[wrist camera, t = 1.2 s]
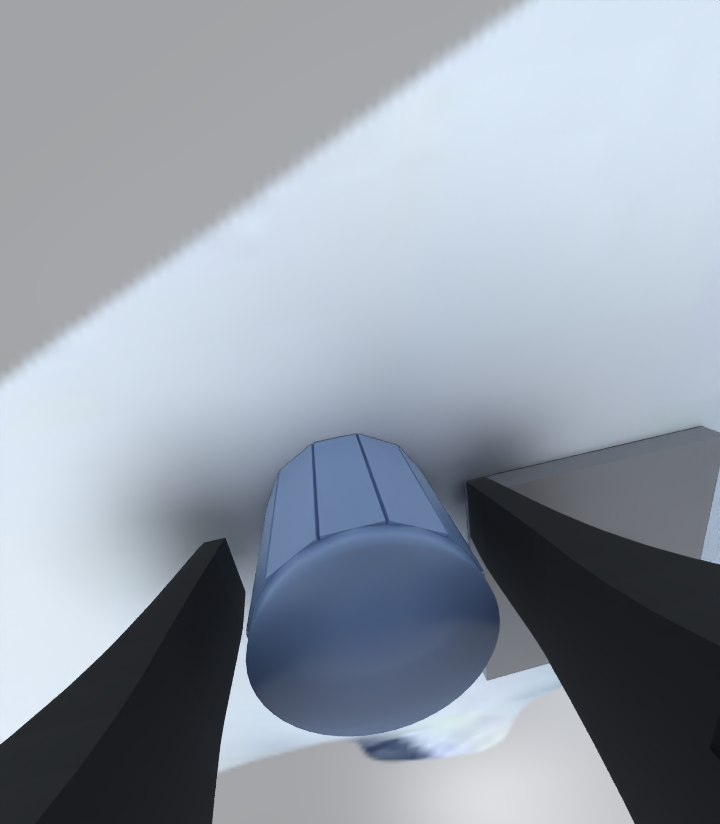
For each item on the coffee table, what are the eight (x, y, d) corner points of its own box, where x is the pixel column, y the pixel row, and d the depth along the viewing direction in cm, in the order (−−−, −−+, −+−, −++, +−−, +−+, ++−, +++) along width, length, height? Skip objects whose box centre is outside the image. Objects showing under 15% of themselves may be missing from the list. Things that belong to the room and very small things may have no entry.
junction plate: (701, 426, 13) (850, 479, 9) (668, 608, 16) (771, 699, 13) (464, 481, 12) (529, 561, 9) (478, 661, 15) (530, 773, 12)
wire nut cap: (416, 420, 11) (495, 516, 7) (432, 551, 13) (503, 698, 8) (250, 456, 11) (209, 585, 6) (290, 586, 13) (282, 761, 8)
